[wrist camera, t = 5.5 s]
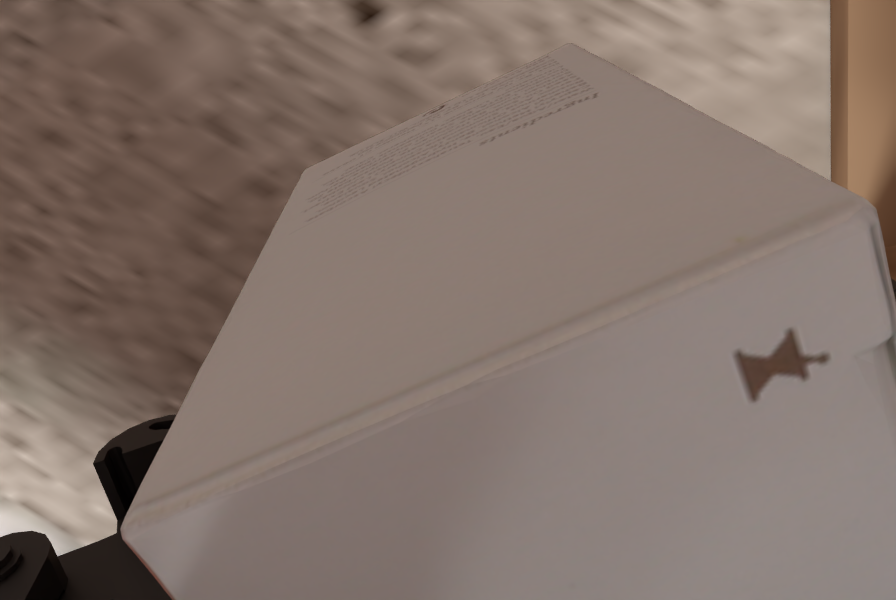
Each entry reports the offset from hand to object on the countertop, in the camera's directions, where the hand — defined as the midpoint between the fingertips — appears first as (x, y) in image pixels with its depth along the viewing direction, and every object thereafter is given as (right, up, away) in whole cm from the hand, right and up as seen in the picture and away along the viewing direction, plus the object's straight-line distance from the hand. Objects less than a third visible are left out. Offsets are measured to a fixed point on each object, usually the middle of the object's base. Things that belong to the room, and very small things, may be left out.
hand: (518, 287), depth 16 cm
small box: (0, 0, +1) cm, 1 cm away
